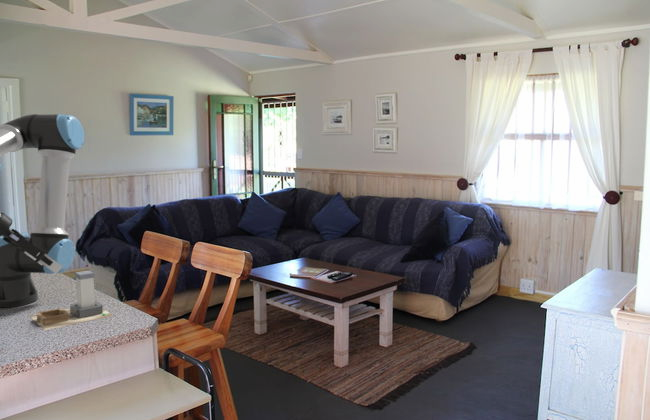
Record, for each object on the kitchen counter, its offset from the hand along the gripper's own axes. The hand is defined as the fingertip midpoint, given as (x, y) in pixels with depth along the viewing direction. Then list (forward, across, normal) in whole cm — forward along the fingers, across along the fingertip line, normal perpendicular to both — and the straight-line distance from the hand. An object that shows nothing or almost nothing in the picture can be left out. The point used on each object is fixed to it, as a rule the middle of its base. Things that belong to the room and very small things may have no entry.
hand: (51, 265), depth 170 cm
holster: (+11, 0, -12) cm, 17 cm away
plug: (+18, 0, -5) cm, 19 cm away
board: (+16, 0, -9) cm, 18 cm away
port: (+18, +1, -5) cm, 19 cm away
